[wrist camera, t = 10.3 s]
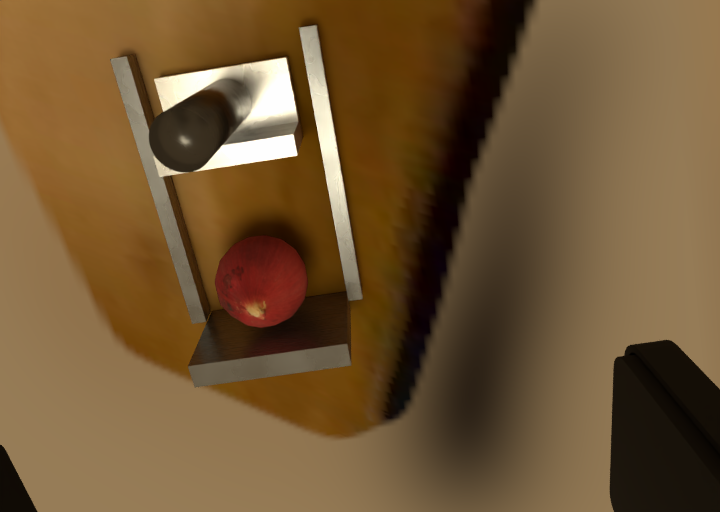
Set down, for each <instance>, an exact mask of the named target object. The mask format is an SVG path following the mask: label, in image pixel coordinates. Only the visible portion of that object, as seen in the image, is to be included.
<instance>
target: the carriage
mask: <svg viewBox="0 0 720 512" xmlns="http://www.w3.org/2000/svg"><path fill="white" fill-rule="evenodd" d="M154 80H155V84H156V87H157V91H158V94H159V98H160V101H161V105H162V108H163V112H162V113H161V114H160V115H158V116H157V117H156V118H155V119H154V121H153V122H152V124H151V127H150V130H149V144H150V147H151V150H152V152H153V154H154V156H153V157H154V160H155V164H156V167H157V170H158V174H159V177H162V176H169V175H175V174H182V173H188V172H194V171H201V170H207V169H214V168H220V167H227V166H233V165H239V164H246V163H252V162H259V161H265V160H272V159H278V158H284V157H291V156H297V155H298V152H299V149H300V146H301V143H302V139H303V132H302V127H301V122H300V117H299V112H298V106H297V101H296V96H295V91H294V85H293V80H292V75H291V70H290V65H289V59H288V56H284V57H278V58H272V59H266V60H260V61H253V62H247V63H241V64H235V65H229V66H223V67H217V68H210V69H204V70H198V71H192V72H186V73H180V74H174V75H167V76H161V77H158V78H155V79H154Z"/></svg>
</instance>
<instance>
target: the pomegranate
mask: <svg viewBox="0 0 720 512" xmlns="http://www.w3.org/2000/svg"><path fill="white" fill-rule="evenodd" d="M307 285H308V279H307V274H306V269H305V263H304V262H303V260H302V259H301V257H300V256H299V254H298V252H297V251H296V250H295V249H294V248H293V247H291V246H290V245H289V244H287V243H286V242H285V241H283V240H282V239H279V238H274V237H270V236H266V235H262V236H253V237H248V238H246V239H244V240H242V241H239V242H237V243H235V244H234V245H233V246H232V247H231V248H230V249H229V250H228V252H227V253H226V254H225V255H224V256H223V258H222V259H221V260H220V263H219V266H218V270H217V274H216V278H215V286H216V290H217V294H218V298H219V301H220V304H221V306H222V307H223V308H224V309H225V310H226V311H227V312H228V313H229V314H230V315H231V316H232V317H234V318H236V319H237V320H239V321H241V322H242V323H244V324H246V325H248V326H254V327H260V328H263V327H268V326H273V325H277V324H279V323H281V322H283V321H285V320H287V319H289V318H290V317H292V316H293V315H294V314H295V312H296V311H297V309H298V308H299V307H300V305H301V304H302V302H303V301H304V299H305V294H306V290H307Z"/></svg>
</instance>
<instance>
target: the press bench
mask: <svg viewBox="0 0 720 512" xmlns="http://www.w3.org/2000/svg"><path fill="white" fill-rule="evenodd" d="M299 31H300V36H301V42H302V47H303V53H304V58H305V64H306V69H307V75H308V80H309V86H310V91H311V97H312V102H313V108H314V113H315V119H316V124H317V130H318V136H319V141H320V147H321V152H322V158H323V163H324V169H325V174H326V180H327V185H328V191H329V196H330V202H331V207H332V213H333V218H334V224H335V230H336V235H337V241H338V246H339V252H340V257H341V263H342V268H343V274H344V279H345V285H346V290H347V292H340V293H333V294H326V295H319V296H312V297H305V299H304V301H303V302H302V304H301V305H300V307H299V308H298V309H297V311H296V312H295V314H294V315H293V316H292V317H290V318H289V319H287V320H285V321H283V322H281V323H279V324H277V325H273V326H268V327H263V328H260V327H254V326H248V325H246V324H244V323H242V322H241V321H239V320H237V319H236V318H234V317H232V316H231V315H230V314H229V313H228V312H227V311H226V310H225V309H223V310H216V311H212V312H211V311H210V307H209V304H208V300H207V297H206V294H205V290H204V287H203V283H202V280H201V277H200V273H199V270H198V266H197V263H196V260H195V256H194V253H193V249H192V246H191V242H190V239H189V236H188V232H187V229H186V225H185V222H184V219H183V215H182V212H181V208H180V205H179V202H178V198H177V195H176V191H175V188H174V185H173V181H172V178H171V175H169V176H162V177H159V174H158V170H157V167H156V164H155V160H154V157H153V156H154V154H153V152H152V150H151V147H150V144H149V130H150V127H151V124H152V122H153V121H154V116H153V113H152V110H151V106H150V103H149V99H148V96H147V92H146V89H145V86H144V82H143V79H142V75H141V72H140V69H139V65H138V62H137V58H136V55H128V56H122V57H117V58H113V59H110V61H111V64H112V67H113V70H114V74H115V77H116V80H117V83H118V86H119V90H120V93H121V96H122V99H123V103H124V106H125V109H126V112H127V115H128V119H129V122H130V125H131V128H132V131H133V135H134V138H135V141H136V144H137V147H138V151H139V154H140V157H141V160H142V164H143V167H144V170H145V173H146V176H147V180H148V183H149V186H150V189H151V192H152V196H153V199H154V202H155V205H156V209H157V212H158V215H159V218H160V221H161V225H162V228H163V231H164V234H165V237H166V241H167V244H168V247H169V250H170V254H171V257H172V260H173V263H174V266H175V270H176V273H177V276H178V279H179V282H180V286H181V289H182V292H183V295H184V299H185V302H186V305H187V308H188V311H189V315H190V318H191V321H192V324H194V323H200V322H206V321H207V319H208V316H209V314H210V312H211V315H210V317H209V319H208V321H207V324H206V326H205V328H204V331H203V333H202V335H201V338H200V340H199V342H198V344H197V347H196V349H195V351H194V354H193V356H192V358H191V361H190V363H189V365H188V368H189V371H190V374H191V377H192V380H193V383H194V386H195V387H201V386H208V385H215V384H222V383H229V382H236V381H243V380H250V379H258V378H265V377H272V376H279V375H286V374H293V373H300V372H307V371H315V370H322V369H329V368H336V367H343V366H350V365H351V314H350V305H349V301H352V300H359V299H363V298H362V286H361V280H360V274H359V269H358V263H357V257H356V251H355V245H354V239H353V233H352V227H351V221H350V215H349V209H348V203H347V197H346V191H345V185H344V180H343V174H342V168H341V162H340V156H339V150H338V144H337V138H336V132H335V126H334V120H333V114H332V108H331V102H330V96H329V90H328V85H327V79H326V73H325V67H324V61H323V55H322V49H321V43H320V37H319V31H318V25H311V26H305V27H300V28H299Z"/></svg>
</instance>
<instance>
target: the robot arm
mask: <svg viewBox="0 0 720 512" xmlns="http://www.w3.org/2000/svg"><path fill="white" fill-rule="evenodd" d="M613 376H614V377H613V404H612V435H611V467H610V498H611V503H612V507H613V510H614V512H720V389H719V388H718V387H717V386H716V385H715V384H714V383H713V382H712V381H711V380H710V379H709V378H708V377H707V376H706V375H705V374H704V373H703V372H702V371H701V370H700V368H699V367H698V366H697V365H696V364H695V363H694V362H693V361H692V360H691V359H690V358H689V357H688V356H687V355H686V354H685V353H684V352H683V351H682V350H681V349H680V348H679V347H678V346H677V345H676V344H675V343H674V342H672V341H670V340H663V341H656V342H649V343H641V344H635V345H630V346H628V347H627V348H626V350H625V355H624V356H622V357H617V358H616V359H615V361H614V373H613ZM0 512H37V510H36V508H35V506H34V504H33V502H32V500H31V498H30V497H29V495H28V493H27V491H26V489H25V487H24V485H23V483H22V481H21V479H20V477H19V475H18V473H17V472H16V469H15V468H14V466H13V464H12V462H11V460H10V458H9V456H8V454H7V452H6V450H5V449H4V447H3V446H2V445H0Z"/></svg>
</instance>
